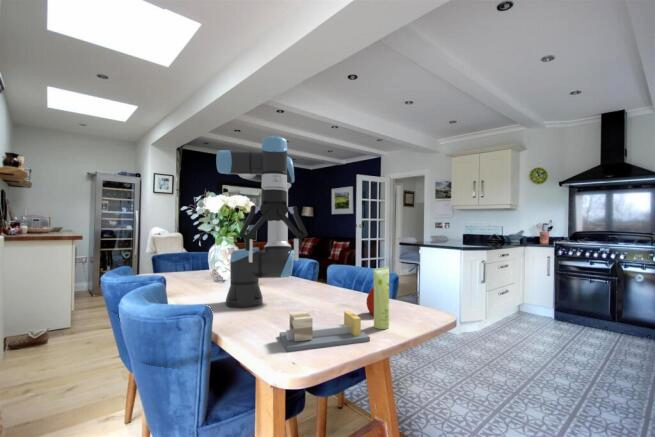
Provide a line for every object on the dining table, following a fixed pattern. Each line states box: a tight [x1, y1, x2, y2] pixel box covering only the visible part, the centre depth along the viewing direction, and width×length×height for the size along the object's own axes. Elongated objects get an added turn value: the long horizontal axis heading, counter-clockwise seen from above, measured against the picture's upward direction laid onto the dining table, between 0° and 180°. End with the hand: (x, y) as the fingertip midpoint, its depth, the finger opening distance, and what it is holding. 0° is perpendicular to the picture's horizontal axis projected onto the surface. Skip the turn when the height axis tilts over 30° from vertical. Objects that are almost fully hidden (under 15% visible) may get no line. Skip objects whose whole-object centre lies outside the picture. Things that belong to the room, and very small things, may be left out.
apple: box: [366, 286, 374, 316], centre depth 118 cm, size 8×8×11 cm
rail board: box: [279, 310, 371, 353], centre depth 93 cm, size 12×24×6 cm, turn 109°
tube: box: [373, 266, 390, 330], centre depth 103 cm, size 6×5×20 cm
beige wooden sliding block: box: [289, 310, 314, 342], centre depth 90 cm, size 7×5×6 cm
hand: (273, 261), depth 94 cm, fingers open, 13 cm apart
